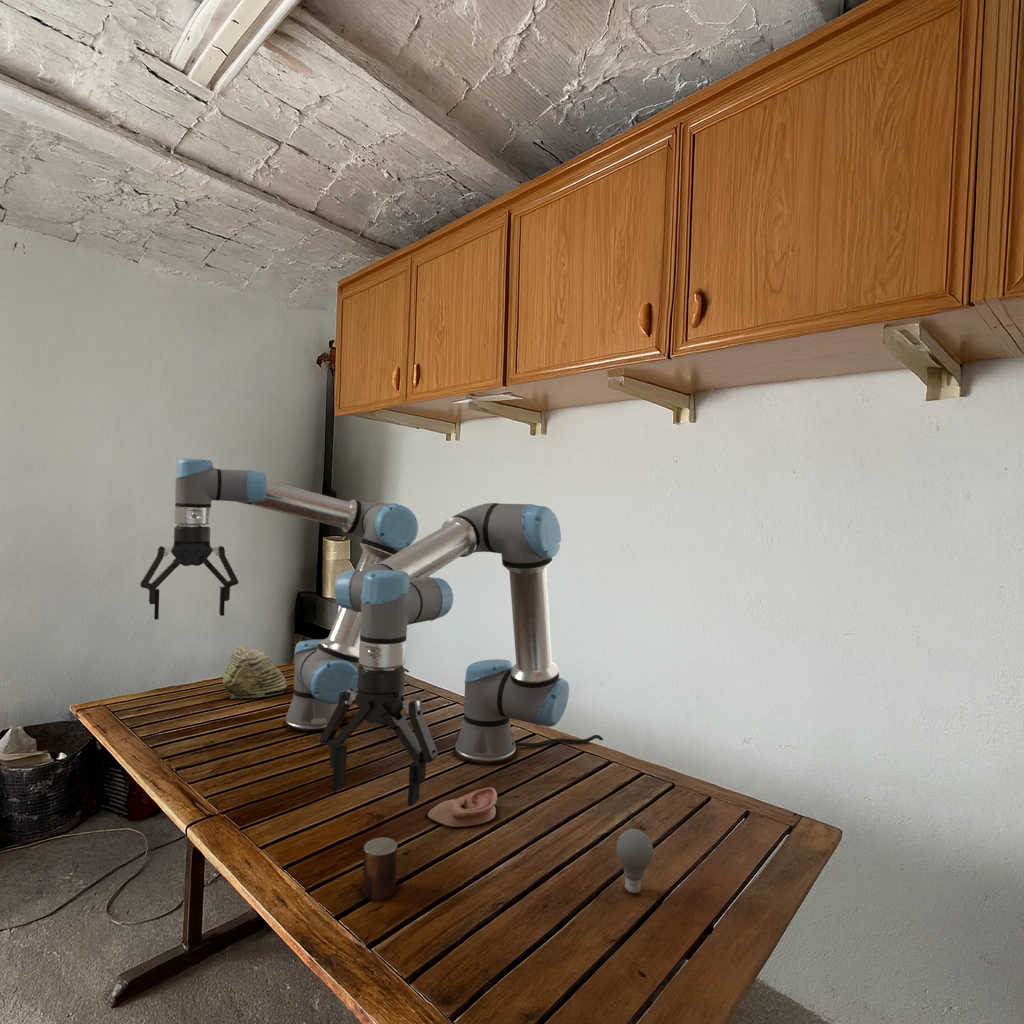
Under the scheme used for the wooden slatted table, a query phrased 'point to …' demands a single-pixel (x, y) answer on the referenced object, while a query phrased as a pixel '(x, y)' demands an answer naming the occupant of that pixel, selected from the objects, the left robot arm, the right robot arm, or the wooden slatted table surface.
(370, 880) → the canister
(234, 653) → the fossil
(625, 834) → the light bulb
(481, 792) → the anatomical model
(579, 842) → the wooden slatted table surface
